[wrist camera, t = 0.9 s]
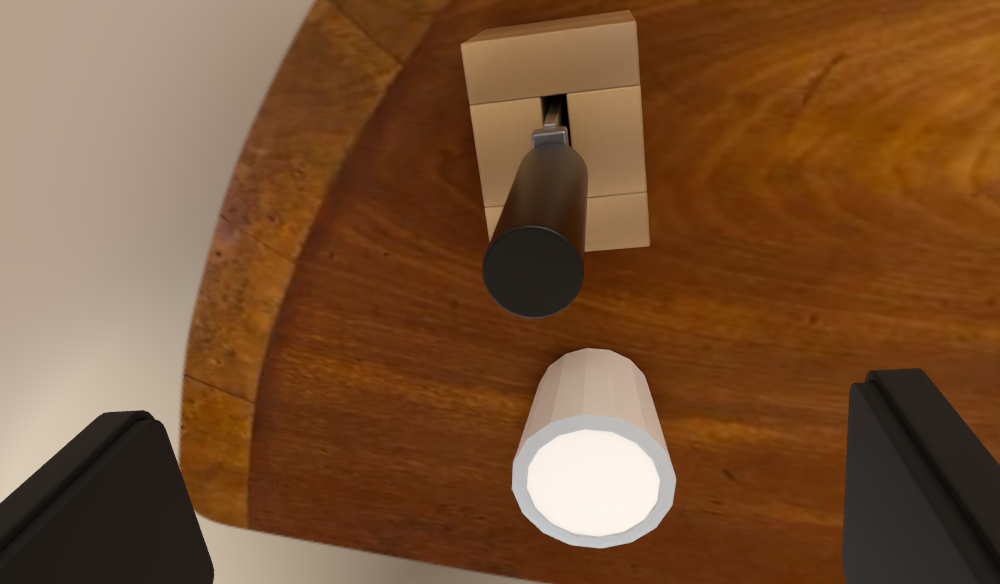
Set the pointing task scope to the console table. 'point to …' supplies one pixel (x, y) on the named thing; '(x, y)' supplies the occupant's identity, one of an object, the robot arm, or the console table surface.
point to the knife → (541, 225)
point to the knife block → (591, 110)
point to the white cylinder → (593, 453)
